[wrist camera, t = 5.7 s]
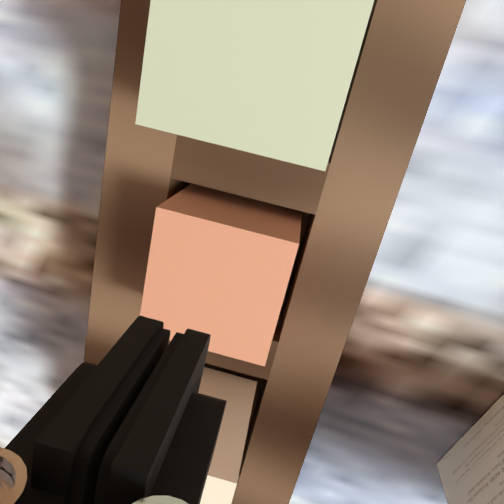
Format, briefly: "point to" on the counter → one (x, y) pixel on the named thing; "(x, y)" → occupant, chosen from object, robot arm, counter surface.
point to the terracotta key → (221, 268)
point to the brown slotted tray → (283, 194)
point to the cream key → (227, 432)
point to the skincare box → (477, 462)
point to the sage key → (252, 73)
